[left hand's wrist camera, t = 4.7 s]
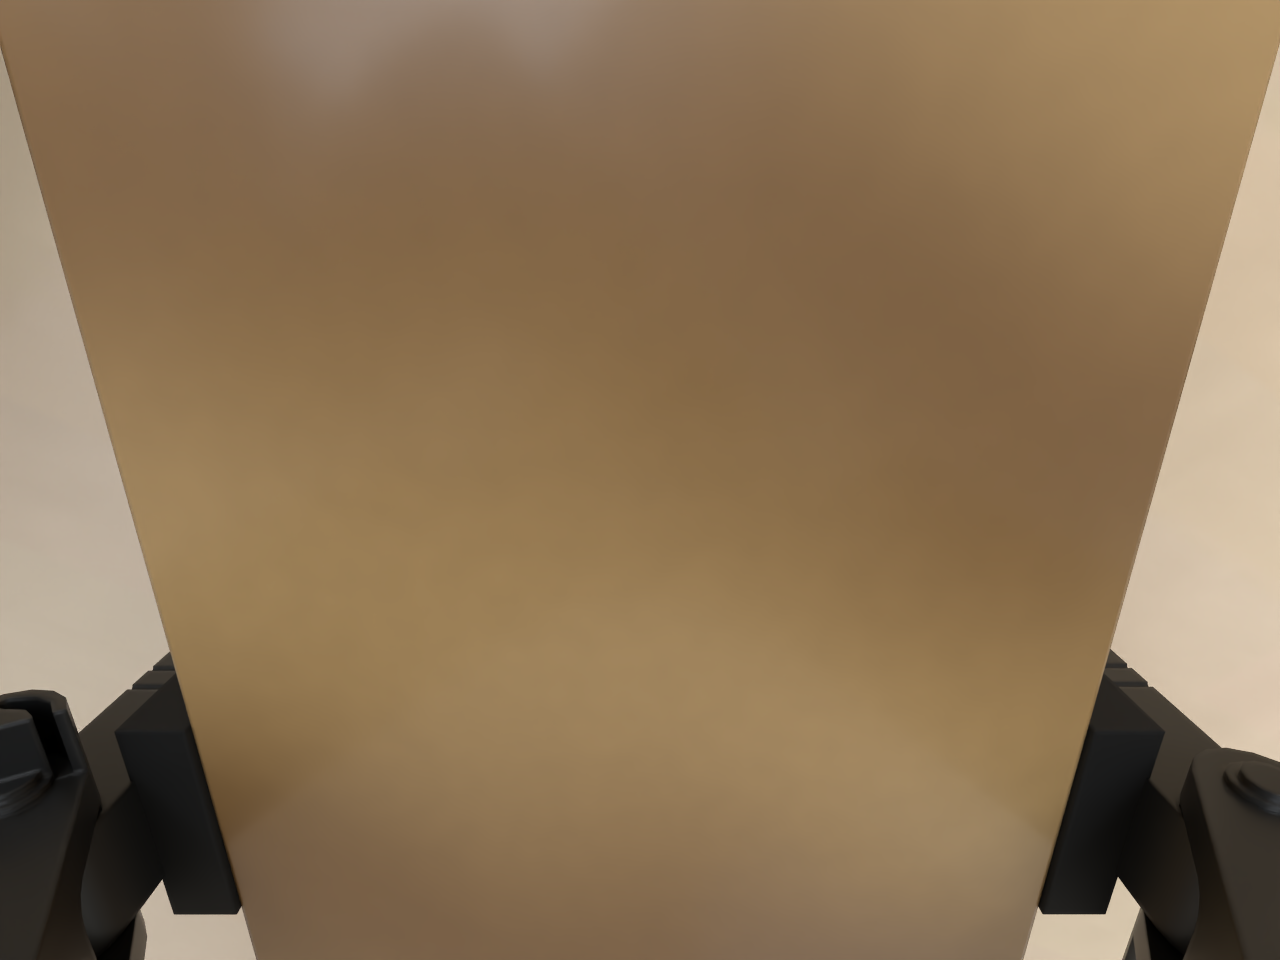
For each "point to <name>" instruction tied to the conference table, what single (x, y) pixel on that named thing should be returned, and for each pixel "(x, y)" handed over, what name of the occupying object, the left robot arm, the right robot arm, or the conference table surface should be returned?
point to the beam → (639, 438)
